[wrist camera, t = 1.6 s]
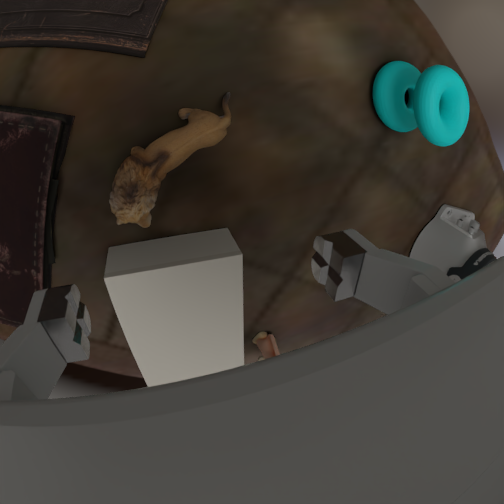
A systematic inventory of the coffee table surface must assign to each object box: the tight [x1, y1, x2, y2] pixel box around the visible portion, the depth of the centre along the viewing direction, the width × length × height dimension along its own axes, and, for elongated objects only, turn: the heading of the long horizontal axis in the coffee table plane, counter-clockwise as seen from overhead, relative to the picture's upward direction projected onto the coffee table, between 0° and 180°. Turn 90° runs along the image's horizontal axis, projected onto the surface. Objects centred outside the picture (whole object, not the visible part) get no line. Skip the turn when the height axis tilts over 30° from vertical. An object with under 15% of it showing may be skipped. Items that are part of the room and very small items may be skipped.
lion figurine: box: [109, 92, 231, 228], centre depth 23 cm, size 15×5×9 cm, turn 129°
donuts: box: [373, 61, 469, 146], centre depth 28 cm, size 10×10×10 cm
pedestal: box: [104, 228, 244, 387], centre depth 35 cm, size 14×20×6 cm
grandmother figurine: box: [252, 331, 280, 361], centre depth 42 cm, size 8×4×13 cm, turn 49°
